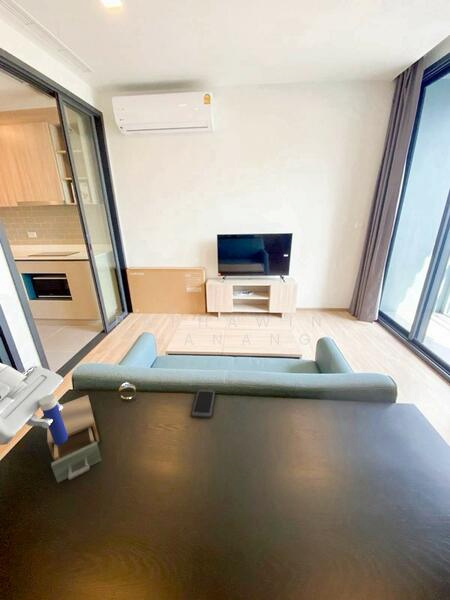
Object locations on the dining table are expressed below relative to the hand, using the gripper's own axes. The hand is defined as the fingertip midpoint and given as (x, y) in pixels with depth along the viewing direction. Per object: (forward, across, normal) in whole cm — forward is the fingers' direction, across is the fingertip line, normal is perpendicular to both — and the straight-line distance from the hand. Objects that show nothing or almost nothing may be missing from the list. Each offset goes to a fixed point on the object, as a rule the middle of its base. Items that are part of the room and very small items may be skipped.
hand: (55, 417), depth 63 cm
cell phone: (+42, -27, +9) cm, 50 cm away
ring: (+20, -30, -13) cm, 38 cm away
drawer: (+14, -5, -17) cm, 22 cm away
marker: (+5, 0, -6) cm, 8 cm away
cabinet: (+10, -14, -21) cm, 28 cm away
